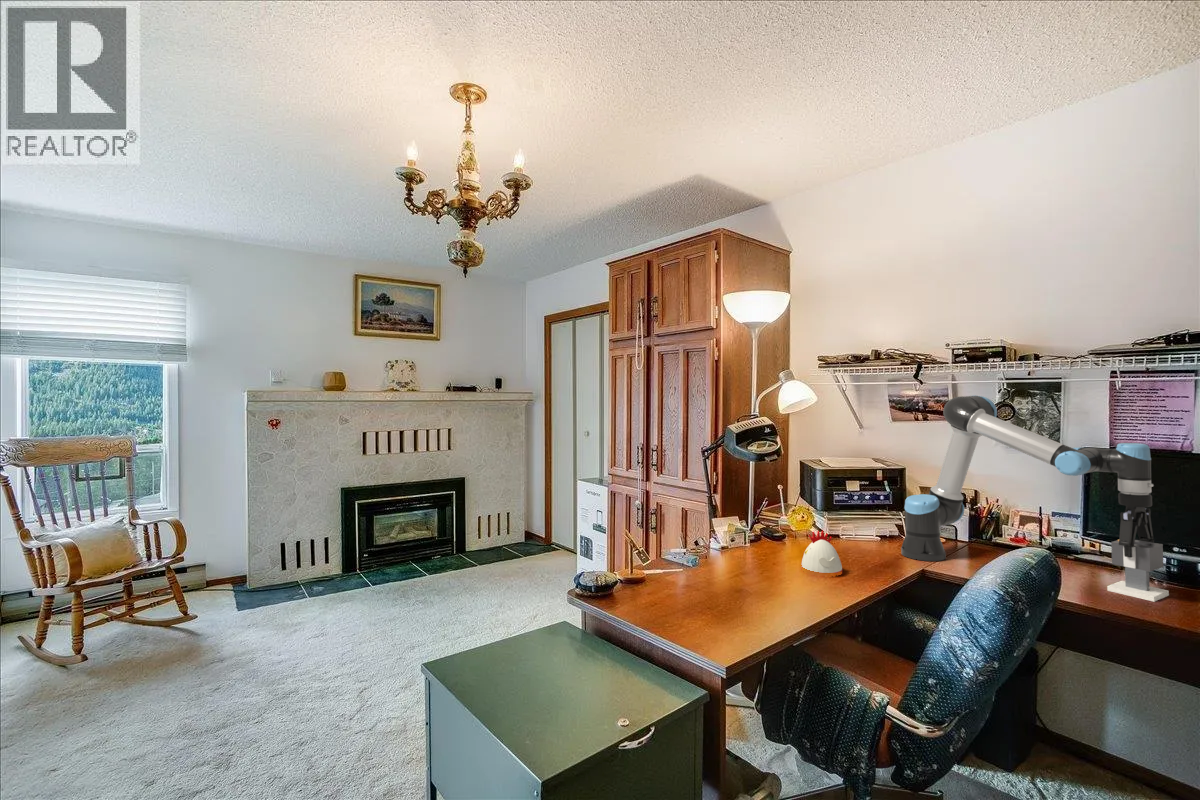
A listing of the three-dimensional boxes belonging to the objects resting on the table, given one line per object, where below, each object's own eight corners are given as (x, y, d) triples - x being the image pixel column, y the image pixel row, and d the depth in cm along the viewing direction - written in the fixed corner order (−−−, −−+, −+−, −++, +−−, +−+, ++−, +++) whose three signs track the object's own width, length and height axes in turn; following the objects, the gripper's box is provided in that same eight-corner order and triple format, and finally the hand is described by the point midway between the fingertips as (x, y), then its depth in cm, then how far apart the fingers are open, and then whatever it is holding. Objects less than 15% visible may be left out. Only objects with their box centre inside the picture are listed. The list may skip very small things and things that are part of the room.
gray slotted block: (1150, 571, 164) (1149, 547, 165) (1111, 564, 173) (1111, 541, 173) (1163, 566, 168) (1162, 543, 168) (1125, 559, 177) (1124, 537, 177)
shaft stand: (1107, 590, 173) (1106, 560, 173) (1122, 585, 178) (1121, 555, 178) (1154, 601, 164) (1153, 570, 163) (1168, 595, 168) (1167, 564, 168)
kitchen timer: (796, 566, 207) (795, 526, 207) (832, 565, 207) (831, 525, 207) (810, 578, 194) (808, 536, 194) (848, 577, 193) (847, 534, 193)
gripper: (1134, 498, 162) (1137, 573, 162) (1166, 490, 172) (1168, 562, 172) (1102, 494, 169) (1104, 567, 169) (1135, 487, 179) (1137, 556, 179)
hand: (1137, 564), depth 171 cm, fingers closed on gray slotted block, 9 cm apart
